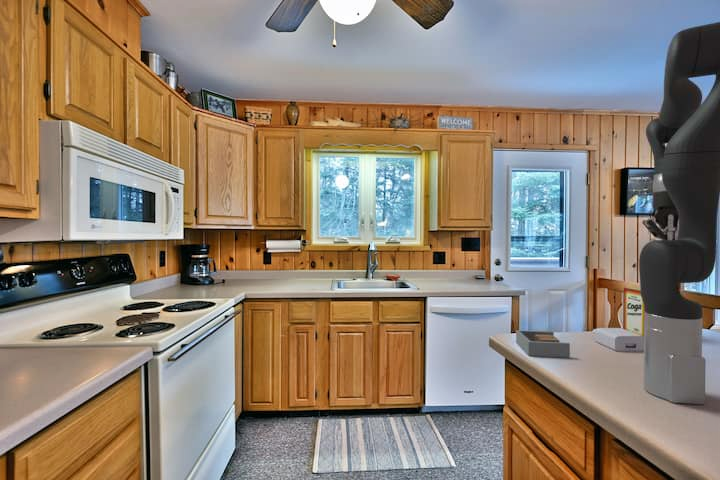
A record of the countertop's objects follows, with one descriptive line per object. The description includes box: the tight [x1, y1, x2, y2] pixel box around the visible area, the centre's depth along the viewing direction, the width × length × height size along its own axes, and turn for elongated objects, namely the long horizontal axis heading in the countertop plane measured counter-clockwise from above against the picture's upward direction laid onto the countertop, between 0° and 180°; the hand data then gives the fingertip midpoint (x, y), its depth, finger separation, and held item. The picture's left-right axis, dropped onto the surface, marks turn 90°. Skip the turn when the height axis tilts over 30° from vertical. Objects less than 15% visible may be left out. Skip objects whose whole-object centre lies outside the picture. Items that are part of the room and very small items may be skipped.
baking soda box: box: [622, 287, 645, 336], centre depth 116 cm, size 10×6×16 cm
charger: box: [591, 327, 644, 352], centre depth 108 cm, size 5×9×15 cm
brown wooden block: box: [535, 335, 560, 342], centre depth 102 cm, size 5×5×4 cm
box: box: [515, 329, 571, 359], centre depth 102 cm, size 12×11×4 cm
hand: (670, 254), depth 93 cm, fingers closed
